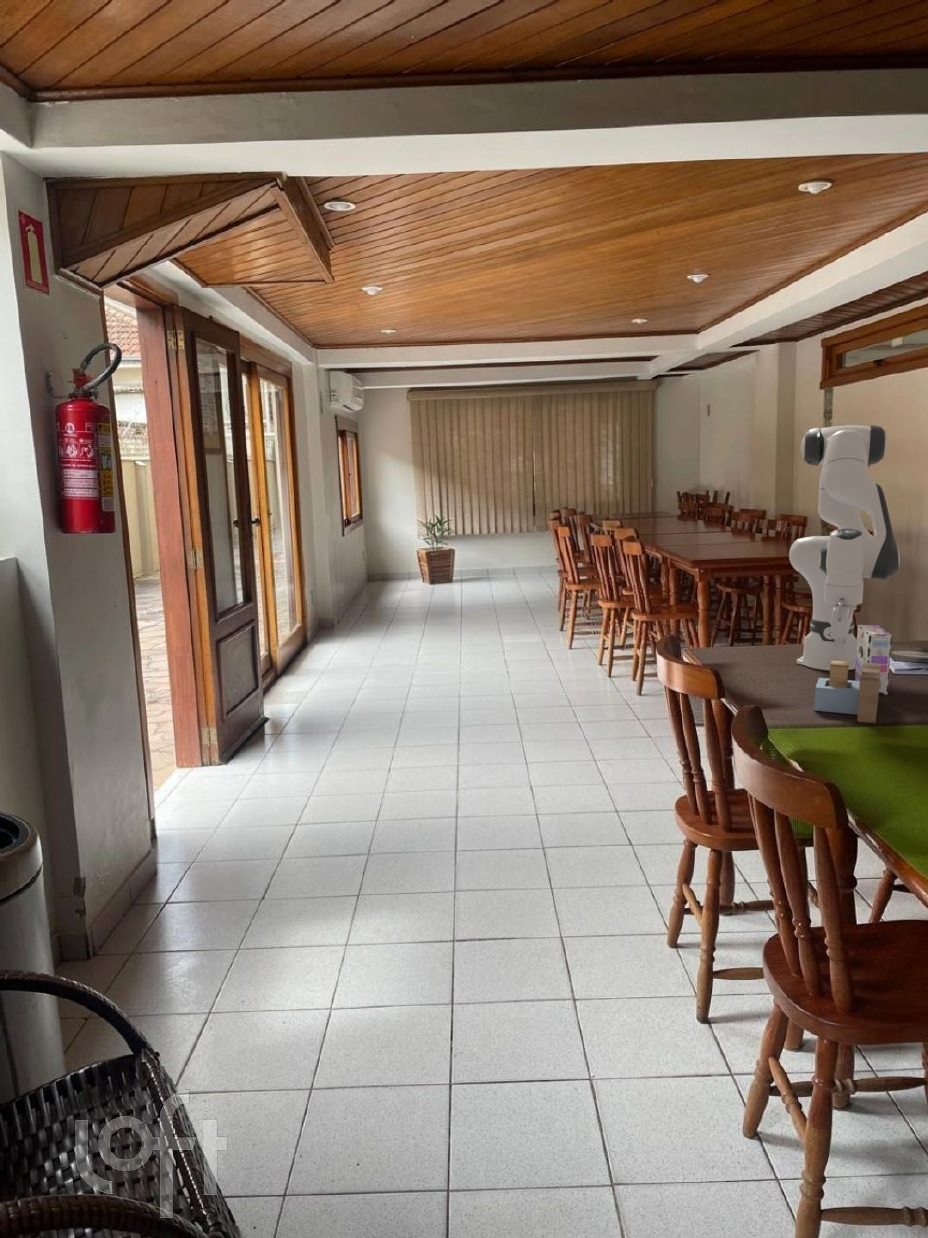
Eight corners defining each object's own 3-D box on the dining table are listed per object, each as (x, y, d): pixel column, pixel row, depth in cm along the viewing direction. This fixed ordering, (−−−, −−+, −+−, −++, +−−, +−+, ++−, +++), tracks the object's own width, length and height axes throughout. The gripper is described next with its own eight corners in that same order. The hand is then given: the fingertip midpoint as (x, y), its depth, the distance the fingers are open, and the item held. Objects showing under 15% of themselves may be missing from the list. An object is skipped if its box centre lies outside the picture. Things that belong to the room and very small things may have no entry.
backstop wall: (861, 699, 234) (863, 662, 232) (878, 701, 232) (880, 663, 230) (857, 721, 216) (859, 681, 215) (875, 723, 215) (878, 682, 213)
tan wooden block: (829, 698, 230) (831, 660, 228) (846, 700, 228) (848, 661, 226) (828, 702, 226) (830, 664, 224) (845, 704, 225) (847, 665, 223)
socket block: (817, 699, 234) (819, 677, 233) (859, 703, 230) (860, 681, 229) (814, 710, 225) (815, 687, 224) (857, 714, 221) (859, 691, 220)
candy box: (888, 695, 237) (892, 634, 234) (865, 694, 239) (868, 634, 236) (876, 681, 251) (879, 624, 248) (853, 681, 252) (857, 623, 249)
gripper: (854, 603, 212) (851, 660, 214) (859, 589, 229) (856, 641, 232) (826, 602, 214) (823, 658, 217) (832, 587, 232) (829, 639, 235)
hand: (840, 649), depth 225 cm, fingers open, 8 cm apart
